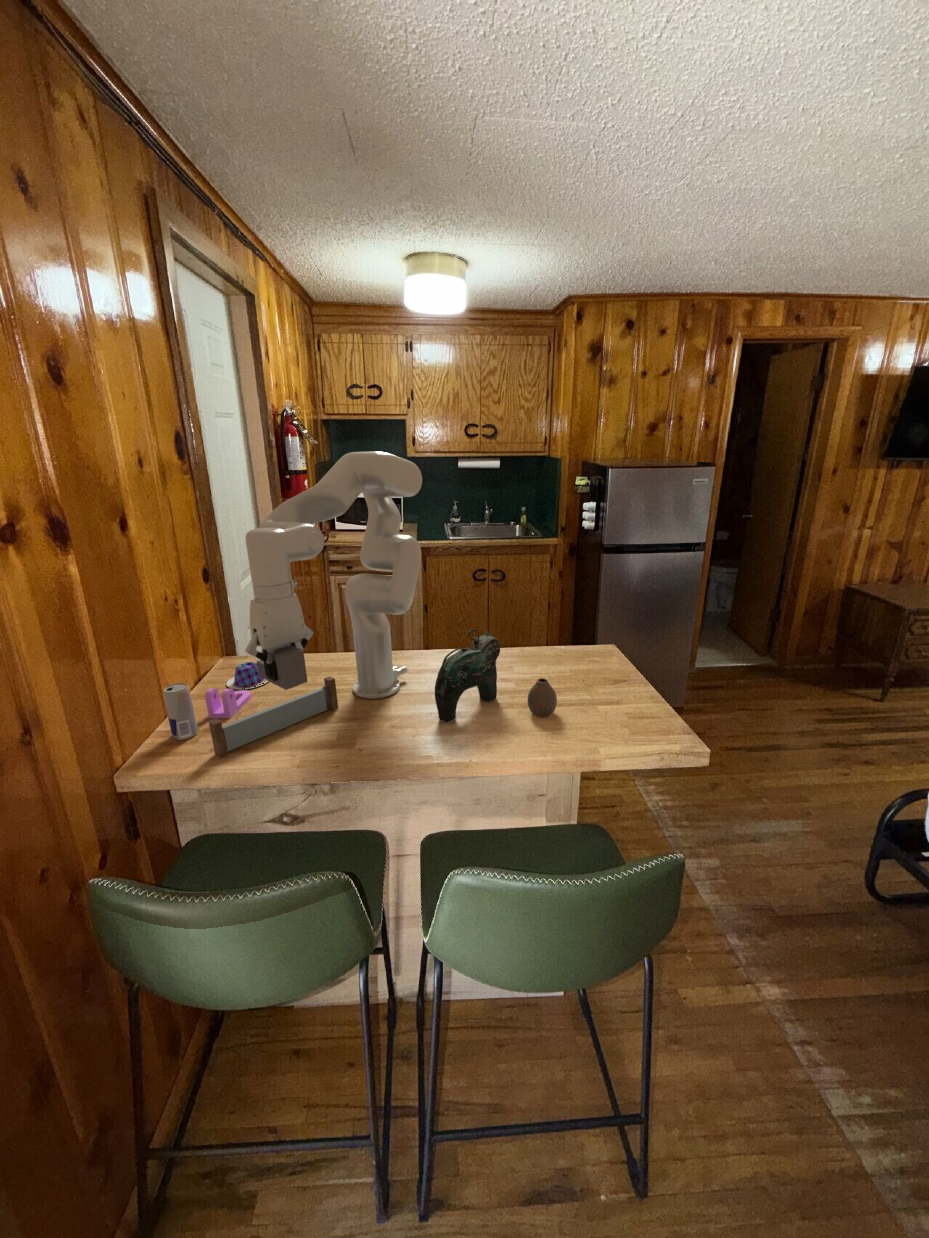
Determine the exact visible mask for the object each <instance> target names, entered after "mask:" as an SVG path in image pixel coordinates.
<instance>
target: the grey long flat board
mask: <svg viewBox="0 0 929 1238" xmlns="http://www.w3.org/2000/svg"><path fill="white" fill-rule="evenodd" d="M329 710H330V708H329V701H328V693H327V687H326V686H325V685H324V686H322V687H321V688H317V689H315V690H313V691H310V692H308V693H304V694H302V695H300V696H297V697H294V698H292V699H289V700H287V701H284V702H282V703H279V704H276V705H273V706H272V707H269V708H266V709H263V710H261V711H259V712H256V713H253V714H250V715H247V716H245V717H243V718H240V719H237V720H234V721H231V722H230V723H227V724H225V725H222V730H223V735H224V740H225V745H226V751H227V752H230V751H232V750H235V749H237V748H240V747H242V746H244V745H246V744H250V743H252V742H254V741H256V740H259V739H261V738H263V737H266V736H269V735H270V734H272V733H275V732H277V731H280V730H282V729H284V728H287V727H289V726H292V725H294V724H296V723H299V722H302V721H303V720H306V719H308V718H310V717H313V716H316V715H318V714H320V713H322V712H324V711H329Z"/></svg>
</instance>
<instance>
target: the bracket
mask: <svg viewBox="0 0 929 1238" xmlns="http://www.w3.org/2000/svg"><path fill="white" fill-rule="evenodd" d="M251 694H252V693H251V691H249V690H248V689H240V690H236V691H235V689H232V688H224V689H223V691H222V693H221V697H220V692H219V690H218V689H217V688H208V689H207V690H206V692H205V696H204V699H205V702H206V708H207V709H206V710H207V713H208V714H207V715H208V718H209V719H232V718H233V717H234V716H235V715H236V714H237V713H238V712H239V711H240V710H241V709H242V708H243V707H244V706H245V705H246V704H248V702H249V701H250V700H251V699H252V695H251ZM244 704H245V705H244Z"/></svg>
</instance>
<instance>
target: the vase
mask: <svg viewBox="0 0 929 1238" xmlns="http://www.w3.org/2000/svg"><path fill="white" fill-rule="evenodd" d="M557 703H558V698H557V694H556V691H555V689H554V687H553V686H552V685H551V684H550V683H549V681H548V679H547V678H544V677H543V678H538V679H537V680H536V682H535V684H534V685H533V686H532V687H531V688H530V690H529V692H528V695H527V706H528V709H529V711H530V712H531V714H533V715H534V716H535V717H538V718H548V717H550V716H551V715H552V714H553V713H554V712H555V710H556V708H557Z"/></svg>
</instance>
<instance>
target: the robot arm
mask: <svg viewBox="0 0 929 1238" xmlns="http://www.w3.org/2000/svg"><path fill="white" fill-rule="evenodd" d="M422 483H423V476H422V472H421V470H420V468H419V466H417V464H416V463H414V462H412V461H410V460H408V459H405V458H403V457H399V456H397V455H395V454H392V453H389V452H384V451H351V452H348V453H345V454H344V455H342V456H341V457H340V458H339V459H338V460H337V461H336V462H335V464H334V465H333V466H332V467H331V468H330V469H329V470H328V471H327V472H326V473H325V474H324V475H323V476H322V478H321V479H320V480H319V481H317V483H316V484H315V485H314V486H312V487H310V488H308V489H306V490H304V491H302V492H300V493H298V494H296V495H295V496H293V497H291V498H288V499H287V500H285V501H284V502H282V503H280V504H279V505H277V506H276V507H275V508H274V509H273V510H272V511H271V512H270V513H269V514H268V515H267V516H266V517H265V518H264V519H263V520H262V522H261V523H260V525H259V526H258V528H254V529H250V530H249V531H247V532H246V534H245V545H246V551H247V560H248V565H249V571H250V577H251V578H250V579H251V585H252V590H253V599H250V603H249V630H250V641H249V642H248V644H247V646H246V648H245V649H244V650H245V651H244V652H245V653H246V654H248V655H250V656H253V657H255V658H256V659H258V660H262V661H263V662H264V668H265V674H266V676H267V677H268V678H269V679H271V680H273V681H277V680H278V675H277V668H276V663H275V662H273V655H274V649H275V648H278V647H281V646H284V645H291V646H293V647H296V648H298V649H301V650H303V651H305V648H306V646H307V645H308V643H309V641H310V639H311V638H312V637H313V635H314V631H313V630H312V629H311V628H310V627H308V626H307V625H306V624H305V619H304V618H305V617H304V613H303V609H302V606H301V603H300V600H299V598H298V595H297V593H295V588H296V587H298V586H299V582H298V581H297V580H296V579H295V580H294V579H293V578H292V570H291V562H295V561H305V560H311V559H314V558H316V557H317V556H319V555H320V553H321V552H322V551H323V549H324V546H325V537H324V534H323V532H322V531H321V529H320V528H319V527H318V526H316V525H314V524H317V523H320V522H321V523H322V522H326V521H328V520H332V519H336V518H338V517H341V516H342V515H344V514H345V513H346V512H347V511H348V510H349V508H350V507H351V506H352V505H353V504H354V502H355V501H356V500H357V498H358V497H359V496H360V495H361V494H362V496H363V497H364V500H365V502H366V506H367V510H368V517H367V522H366V527H365V532H364V536H363V539H362V543H361V548H360V558H359V559H360V563H361V565H362V566H363V567H364V568H366V569H368V570H372V571H377V572H378V571H379V572H388V573H389V572H390V573H392V575H384V574H375V573H359V574H355V575H353V576H351V577H350V578H349V579H348V580H347V581H346V584H345V587H344V596H345V597H344V598H345V601H346V604H347V605H346V606H347V608H348V611H349V614H350V619H351V625H352V634H353V645H354V654H355V663H356V664H355V665H356V675H357V676H356V677H357V681H356V682H355V683H354V684H353V686H352V693H353V694H354V695H355V696H357V697H359V698H362V699H368V700H369V699H370V700H372V699H375V700H376V699H383V698H386V697H389V696H392V695H394V694H396V693H397V692H398V691H399V690H400V688H401V682H400V680H399V679H398V678H400V676H402V675H404V674H407V673H408V668H407V666H405V665H403V666H401V667H400V668H398V667H397V666H393V665H394V664H393V663H394V662H393V652H392V651H393V650H392V638H391V636H392V635H391V626H390V622H389V619H388V618H387V614H388V615H403V614H406V613H407V612H408V611H409V609H410V608H411V606H412V604H413V600H414V595H415V591H416V588H417V587H416V586H417V582H418V577H419V573H420V567H421V565H422V549H421V545H420V542H419V541H418V540H417V539H416V538H415V537H413V536H411V535H409V534H400V529H401V525H402V516H401V513H400V510H399V509H398V507H397V506H396V503H395V502H394V500H393V499H392V498H410V497H414V496H416V495H417V494H418V493H419V492H420V490H421V489H422V486H423V484H422ZM257 647H261V651H258V650H257Z"/></svg>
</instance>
